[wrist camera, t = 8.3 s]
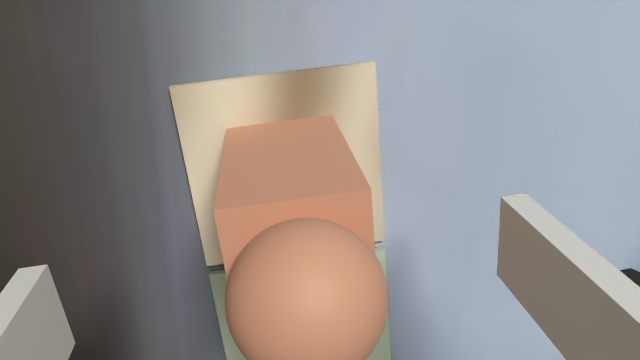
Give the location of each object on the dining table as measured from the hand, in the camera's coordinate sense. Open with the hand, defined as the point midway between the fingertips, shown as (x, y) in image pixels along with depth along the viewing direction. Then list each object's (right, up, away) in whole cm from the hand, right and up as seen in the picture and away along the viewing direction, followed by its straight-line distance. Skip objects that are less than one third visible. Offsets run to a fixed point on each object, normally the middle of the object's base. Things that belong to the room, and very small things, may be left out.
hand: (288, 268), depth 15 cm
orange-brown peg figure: (-1, +3, +8) cm, 8 cm away
